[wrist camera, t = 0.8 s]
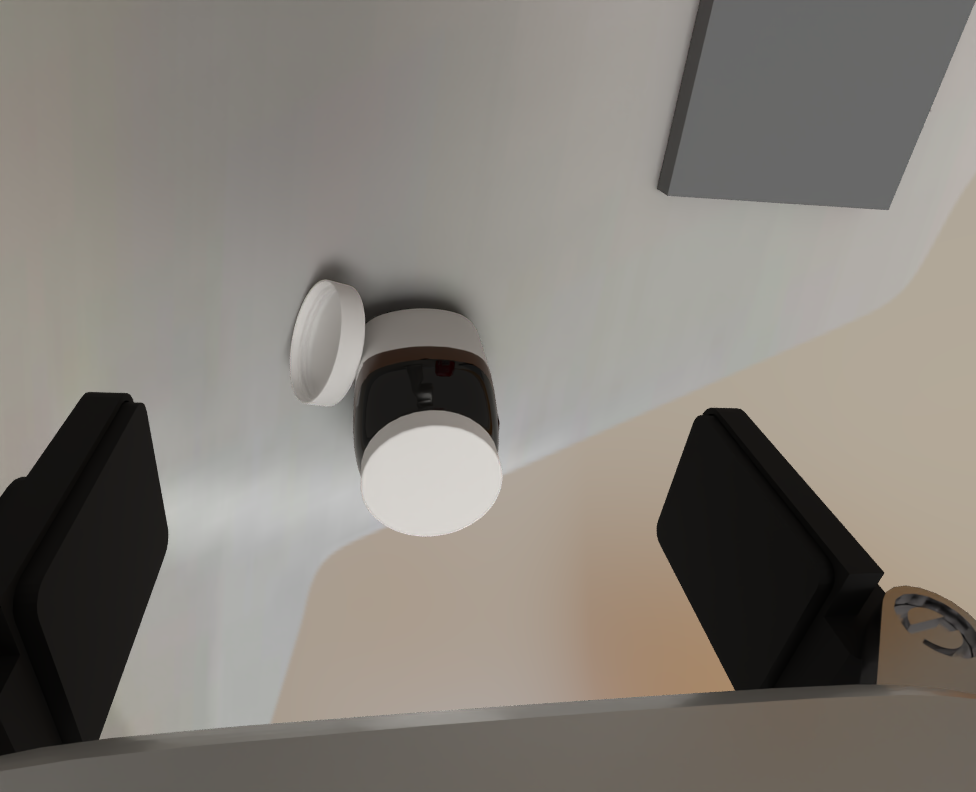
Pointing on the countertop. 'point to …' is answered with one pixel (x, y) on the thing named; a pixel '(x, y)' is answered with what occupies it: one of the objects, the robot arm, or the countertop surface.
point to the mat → (807, 98)
